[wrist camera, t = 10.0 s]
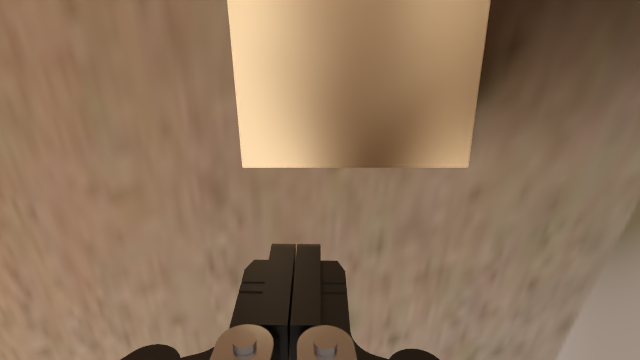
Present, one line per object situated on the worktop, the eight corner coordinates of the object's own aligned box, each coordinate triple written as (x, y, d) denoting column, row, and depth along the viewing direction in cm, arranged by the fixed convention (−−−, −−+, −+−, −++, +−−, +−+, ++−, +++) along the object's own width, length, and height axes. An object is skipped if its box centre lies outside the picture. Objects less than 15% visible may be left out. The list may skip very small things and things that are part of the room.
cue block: (259, 133, 19) (242, 167, 16) (249, -16, 17) (225, -16, 13) (442, 132, 19) (467, 167, 15) (458, -19, 17) (493, -20, 13)
